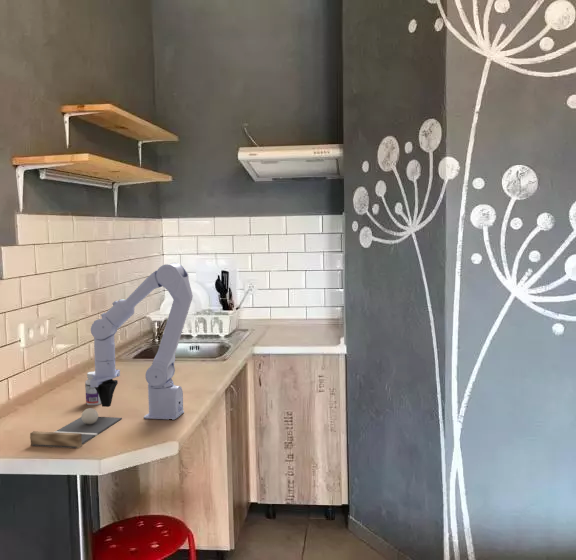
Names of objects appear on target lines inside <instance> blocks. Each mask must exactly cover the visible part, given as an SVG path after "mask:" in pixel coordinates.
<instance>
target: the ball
mask: <svg viewBox="0 0 576 560" xmlns="http://www.w3.org/2000/svg"><path fill="white" fill-rule="evenodd" d="M80 417H81V418H82V421H83V422H84V423H85V424H93V423H95V422H96V421H97V419H98V417H99V413H98V411H97V410H96V409H95V408H93V407H89V408H86V409H84V410H83V411H82V412H81V416H80Z"/></svg>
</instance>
